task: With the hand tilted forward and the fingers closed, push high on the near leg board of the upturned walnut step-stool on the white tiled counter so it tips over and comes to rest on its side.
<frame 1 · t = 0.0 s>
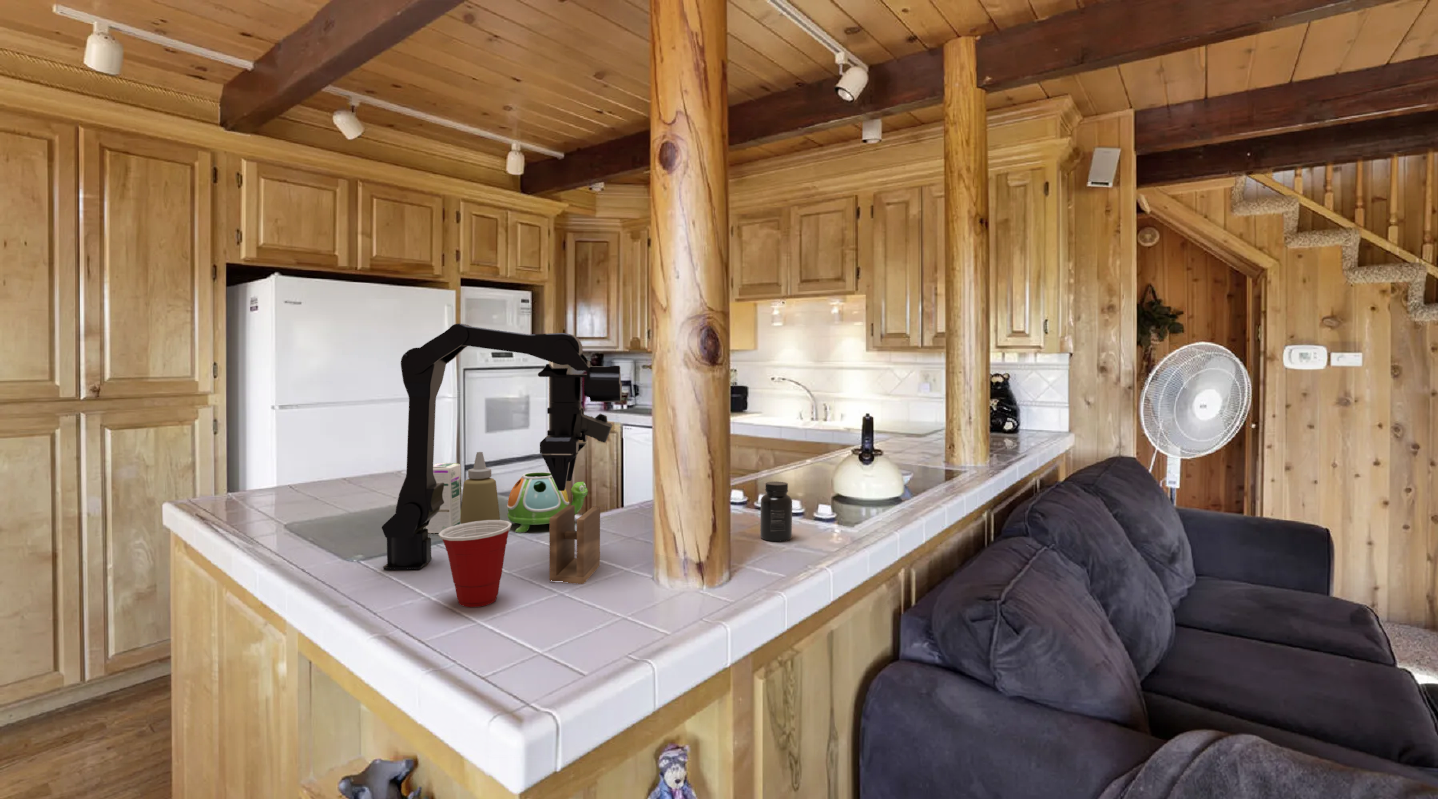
hand: (565, 485, 125), 15 cm above the countertop, tool pointing down, fingers open, 9 cm apart
plastic cup: (476, 601, 107), on the countertop
syrup box: (444, 531, 147), on the countertop
turtle holder: (544, 526, 153), on the countertop
supplement bottle: (775, 538, 146), on the countertop
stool: (575, 573, 120), on the countertop
squeeze bottle: (480, 537, 143), on the countertop
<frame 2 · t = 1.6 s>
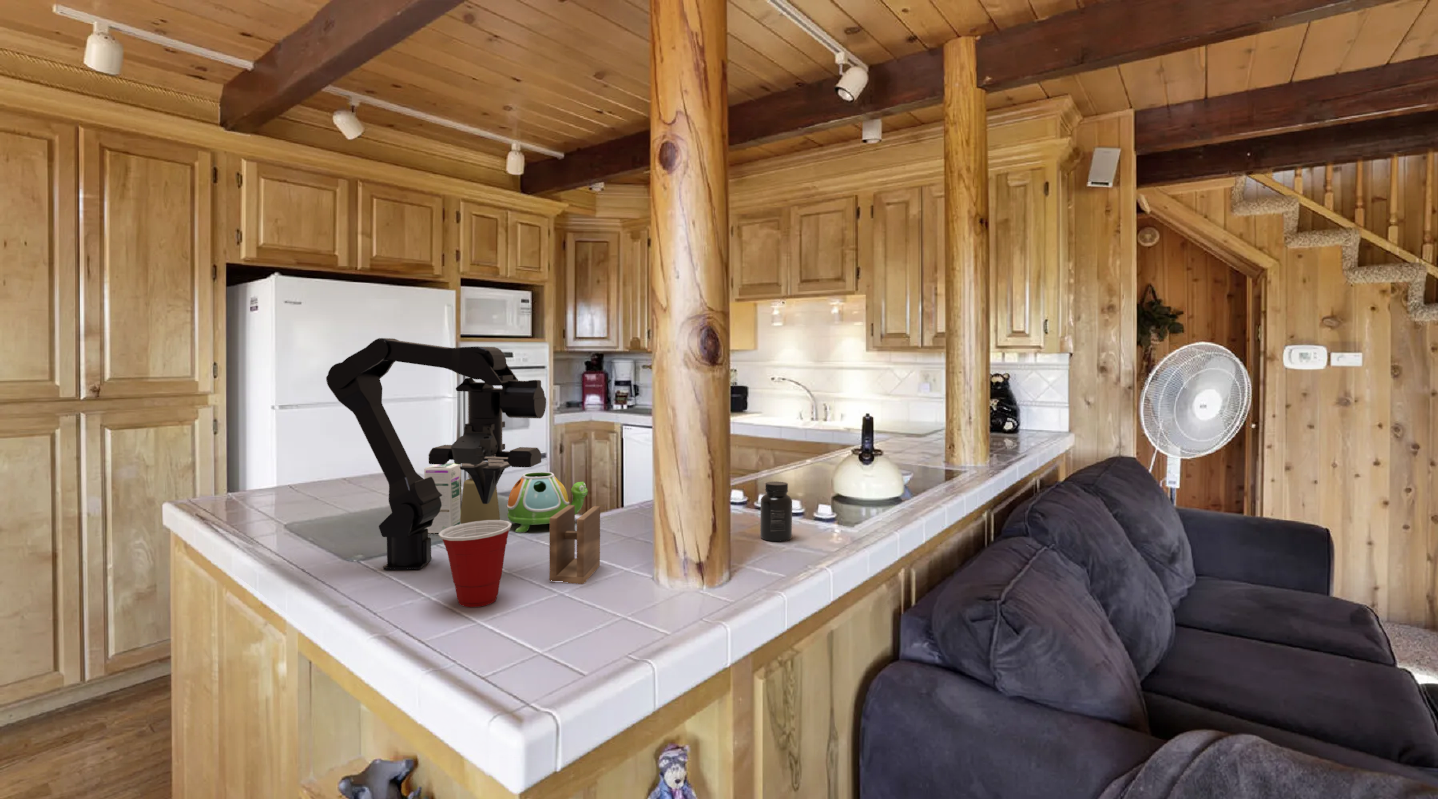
hand: (486, 503, 121), 12 cm above the countertop, tool pointing down, fingers closed
nothing on the countertop moved.
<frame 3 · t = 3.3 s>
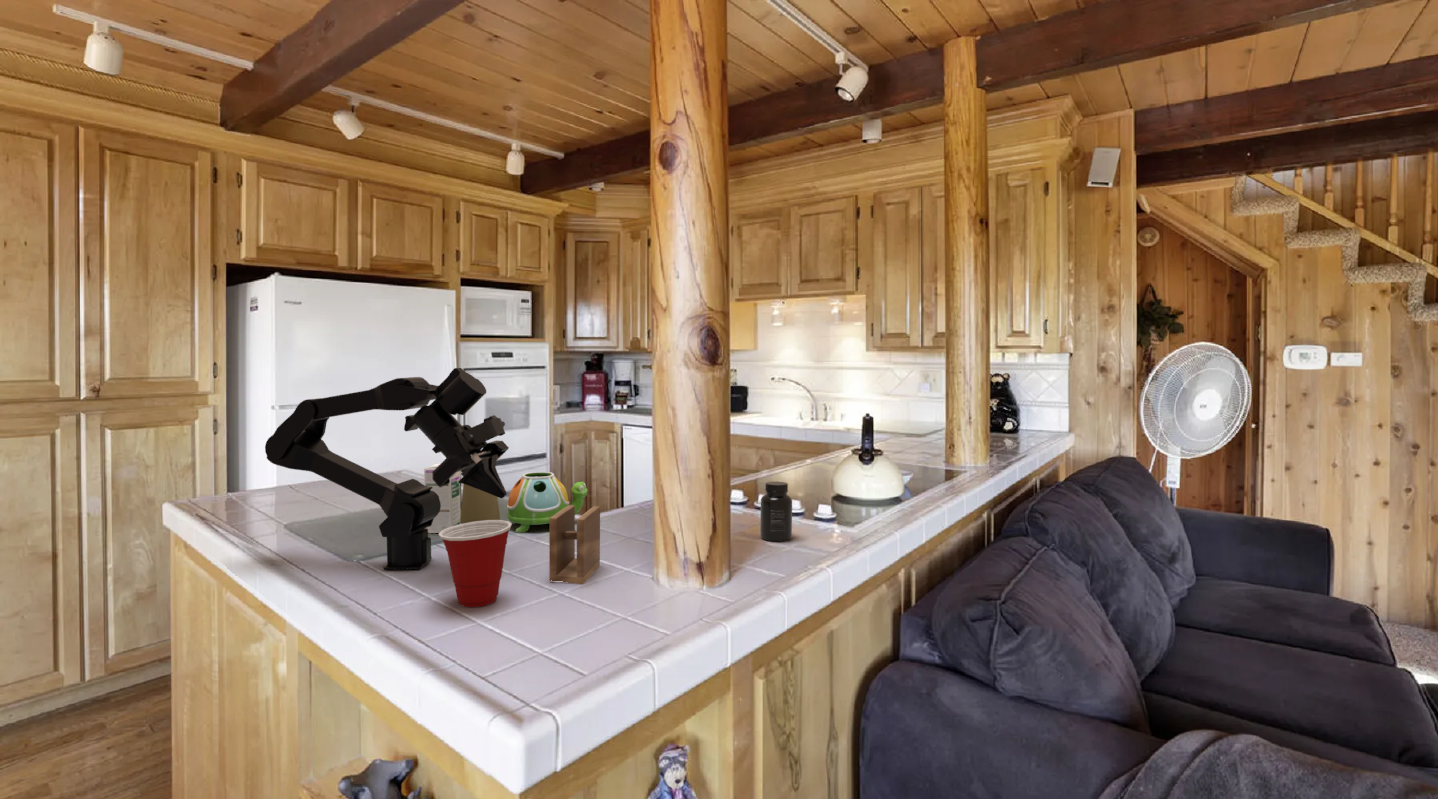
hand: (504, 496, 121), 13 cm above the countertop, tool tilted 45°, fingers closed
nothing on the countertop moved.
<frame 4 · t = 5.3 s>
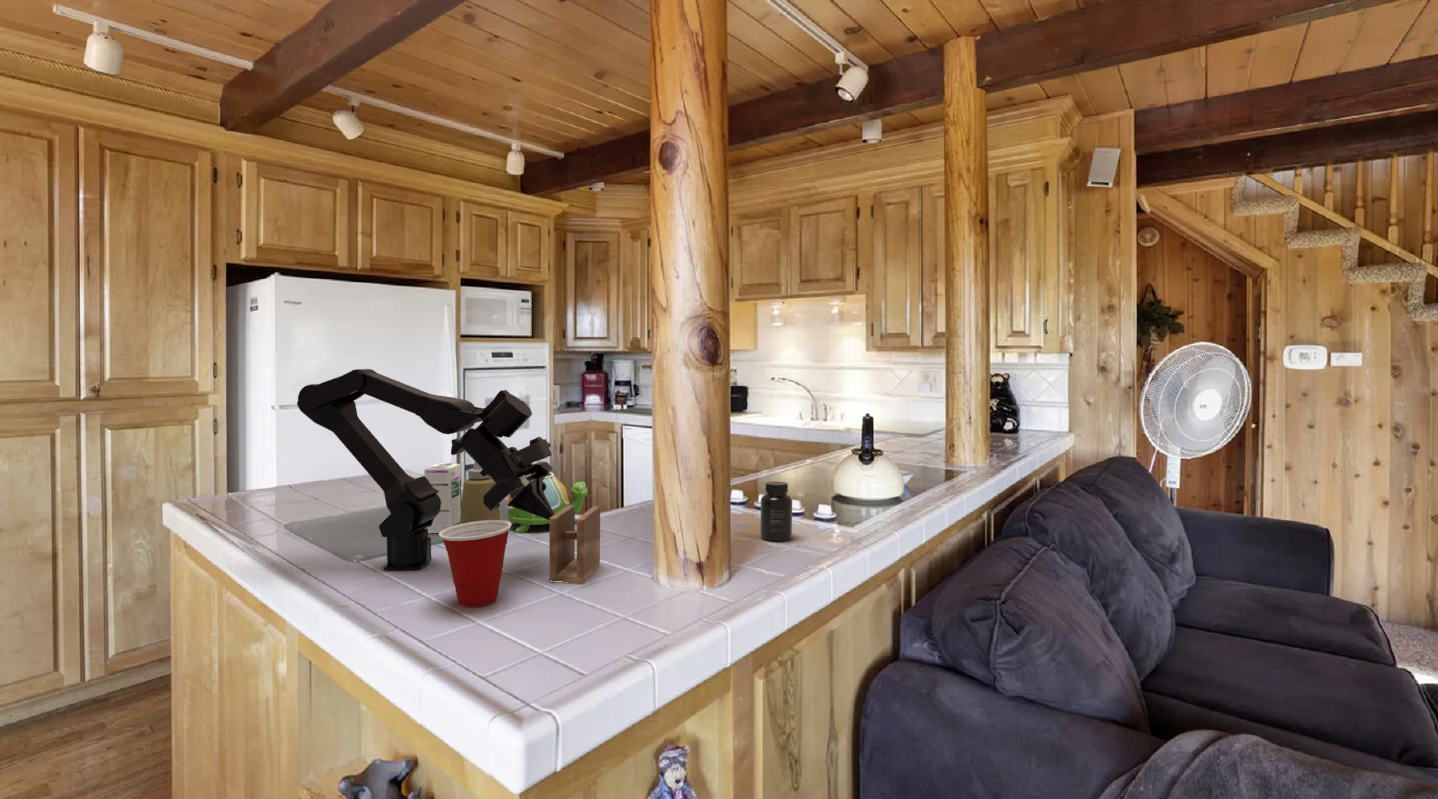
hand: (552, 518, 120), 10 cm above the countertop, tool tilted 45°, fingers closed
nothing on the countertop moved.
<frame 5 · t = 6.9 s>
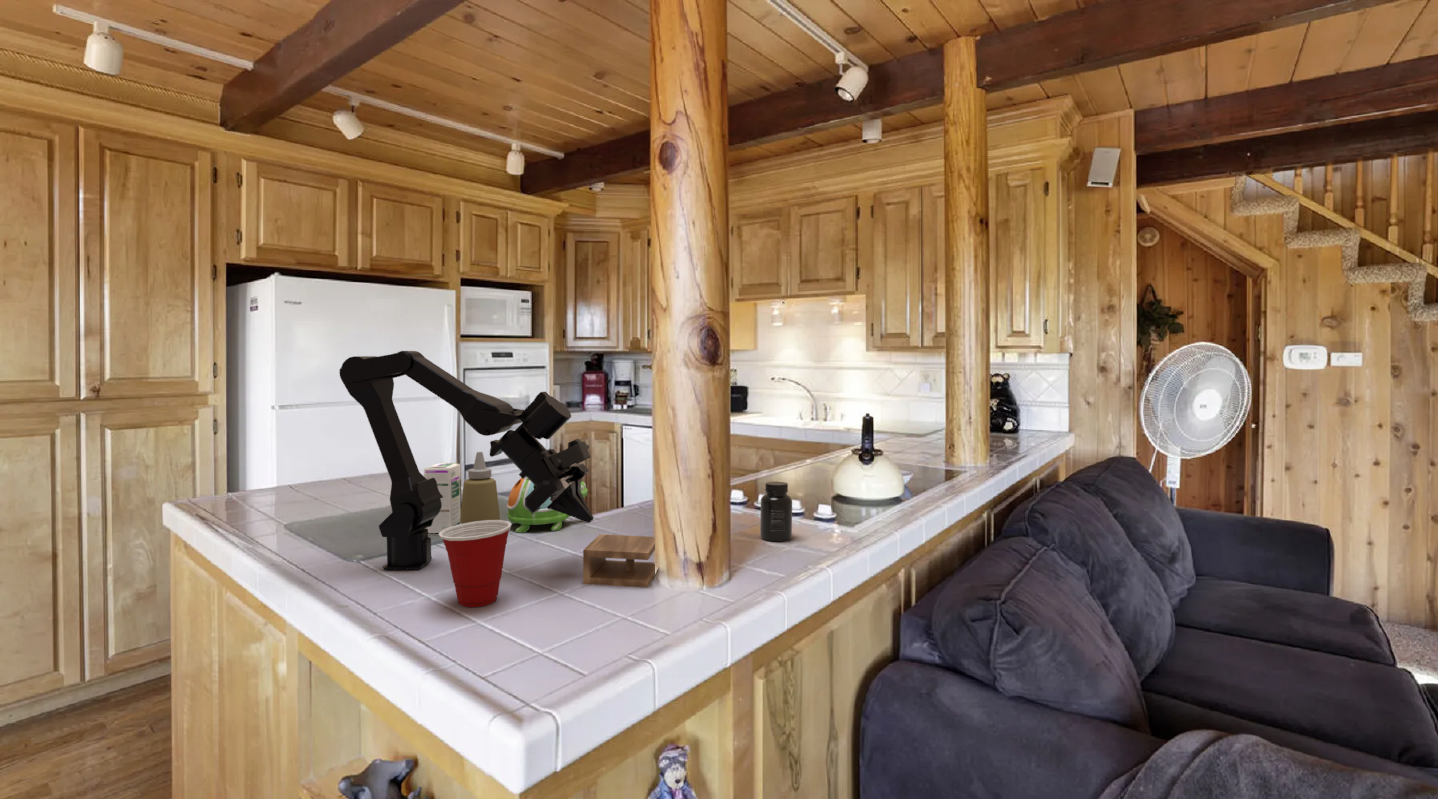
hand: (591, 520, 119), 10 cm above the countertop, tool tilted 45°, fingers closed
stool: (591, 558, 120), point 3 cm above the countertop, tilted 90°
everything else where it was.
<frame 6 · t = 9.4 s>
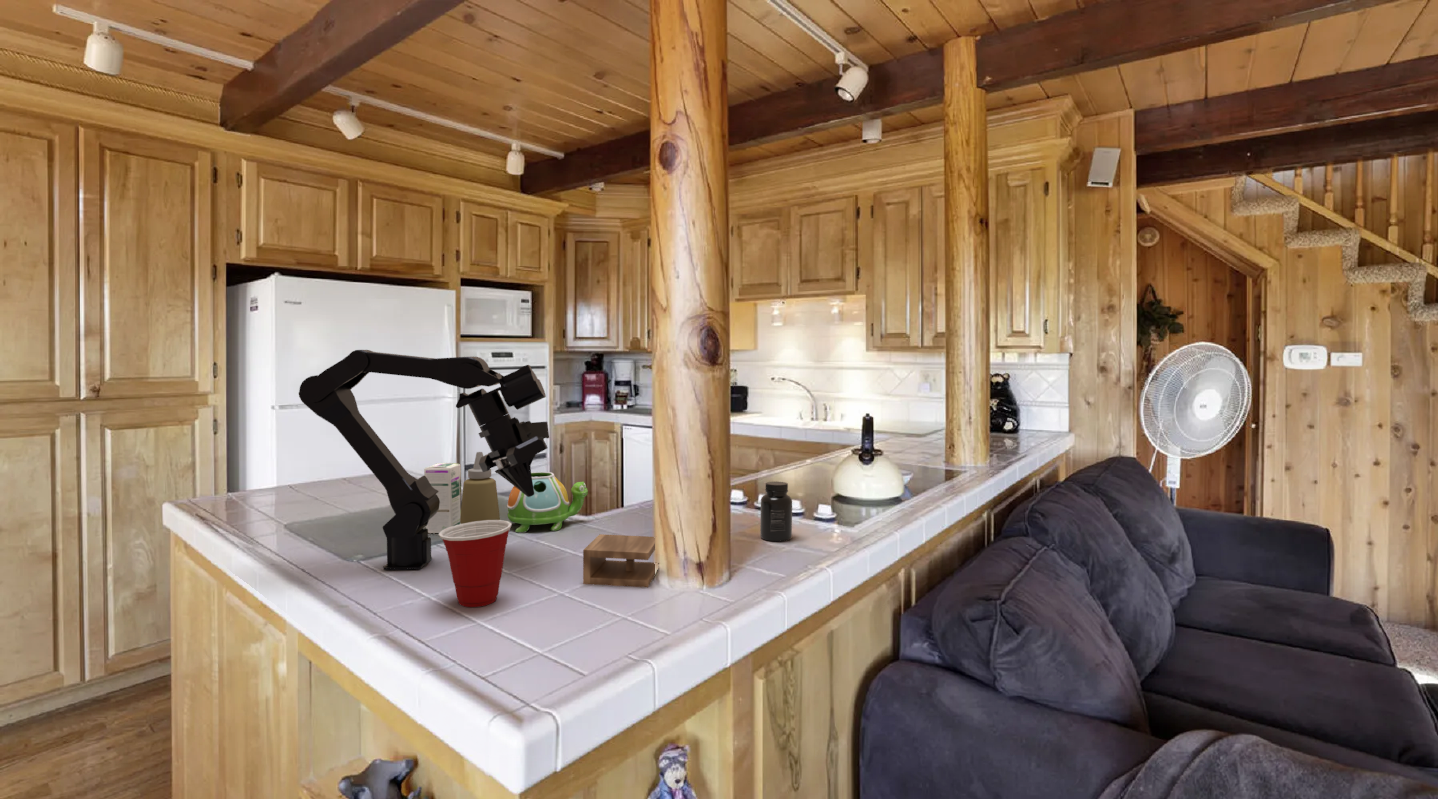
hand: (531, 495, 126), 13 cm above the countertop, tool tilted 25°, fingers closed
nothing on the countertop moved.
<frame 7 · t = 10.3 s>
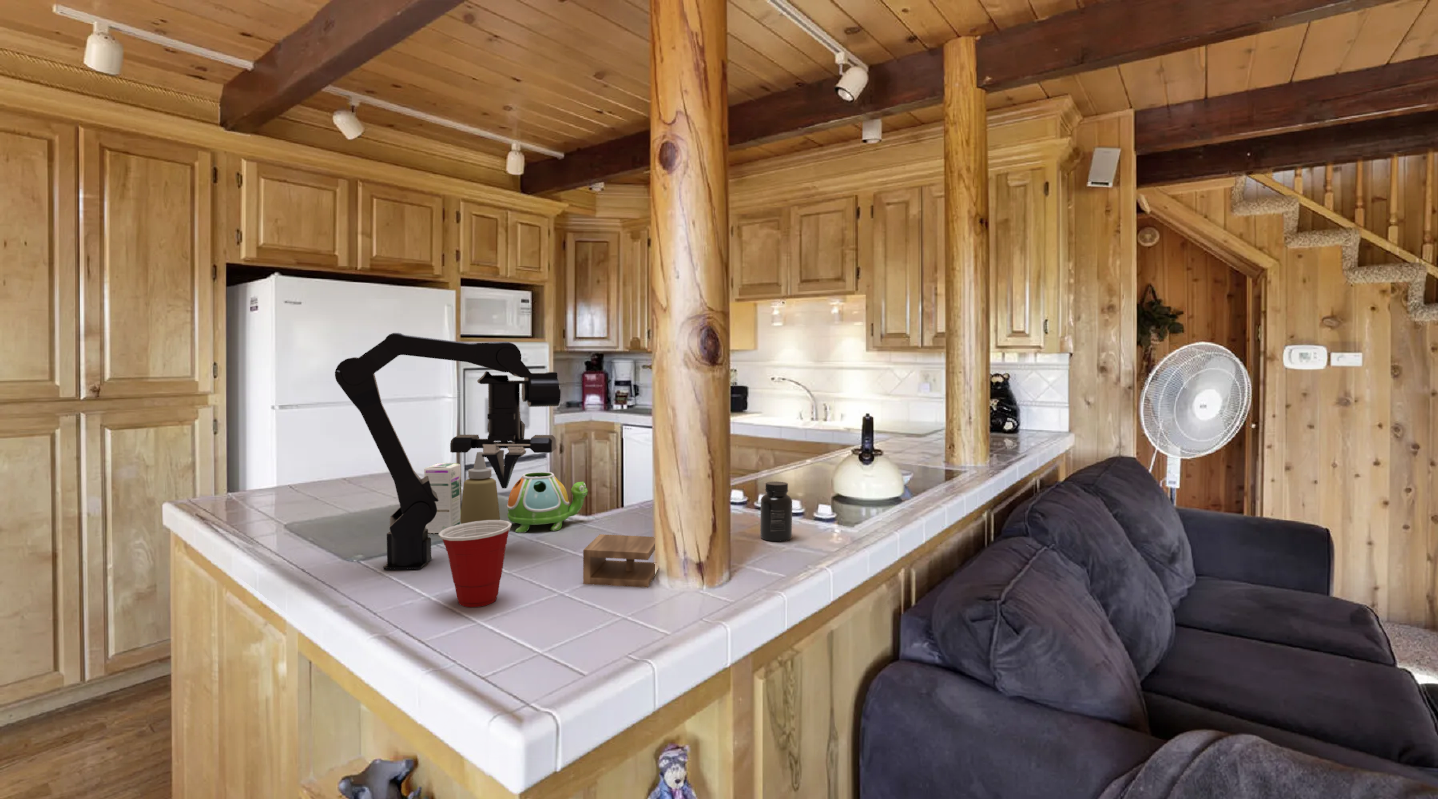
hand: (504, 488, 130), 13 cm above the countertop, tool pointing down, fingers closed
nothing on the countertop moved.
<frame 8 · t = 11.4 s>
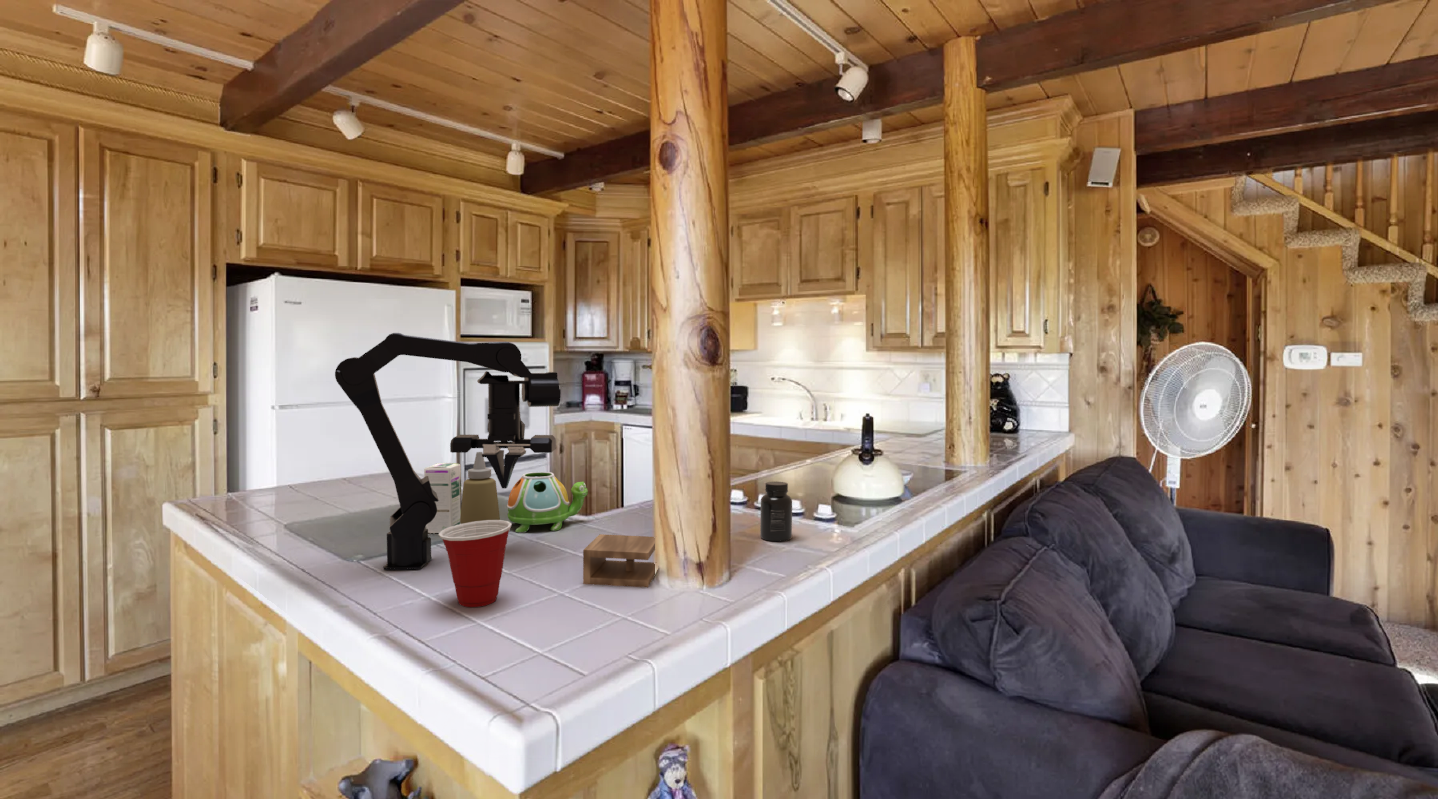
hand: (504, 488, 130), 13 cm above the countertop, tool pointing down, fingers closed
nothing on the countertop moved.
at the end: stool tilted 90°; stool inside the target area (7.1 cm from its centre), point 2.9 cm above the countertop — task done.
